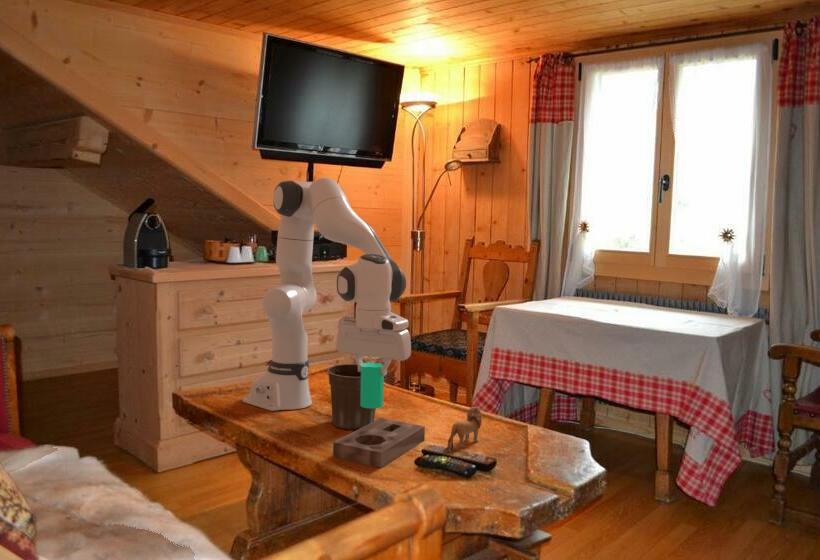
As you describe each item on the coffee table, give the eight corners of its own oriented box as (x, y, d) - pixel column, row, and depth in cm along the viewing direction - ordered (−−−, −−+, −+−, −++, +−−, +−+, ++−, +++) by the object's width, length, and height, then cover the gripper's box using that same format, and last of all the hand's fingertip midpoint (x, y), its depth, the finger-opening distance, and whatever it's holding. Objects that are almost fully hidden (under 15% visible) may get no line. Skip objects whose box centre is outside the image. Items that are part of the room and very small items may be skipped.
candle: (380, 409, 173) (381, 362, 172) (357, 407, 175) (357, 360, 173) (386, 402, 179) (387, 357, 178) (363, 401, 181) (364, 355, 179)
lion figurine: (467, 434, 197) (469, 403, 196) (485, 438, 194) (486, 407, 193) (443, 449, 184) (444, 416, 183) (461, 453, 181) (462, 420, 180)
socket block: (332, 457, 176) (333, 442, 175) (380, 431, 197) (380, 417, 197) (380, 468, 169) (381, 452, 169) (424, 440, 191) (424, 426, 190)
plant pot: (389, 419, 209) (390, 366, 207) (370, 435, 193) (372, 379, 192) (338, 413, 213) (339, 361, 212) (317, 428, 198) (317, 373, 196)
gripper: (331, 317, 177) (331, 370, 178) (402, 325, 167) (401, 381, 169) (345, 314, 182) (344, 365, 184) (414, 321, 173) (413, 375, 174)
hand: (372, 373), depth 176 cm, fingers closed on candle, 5 cm apart
